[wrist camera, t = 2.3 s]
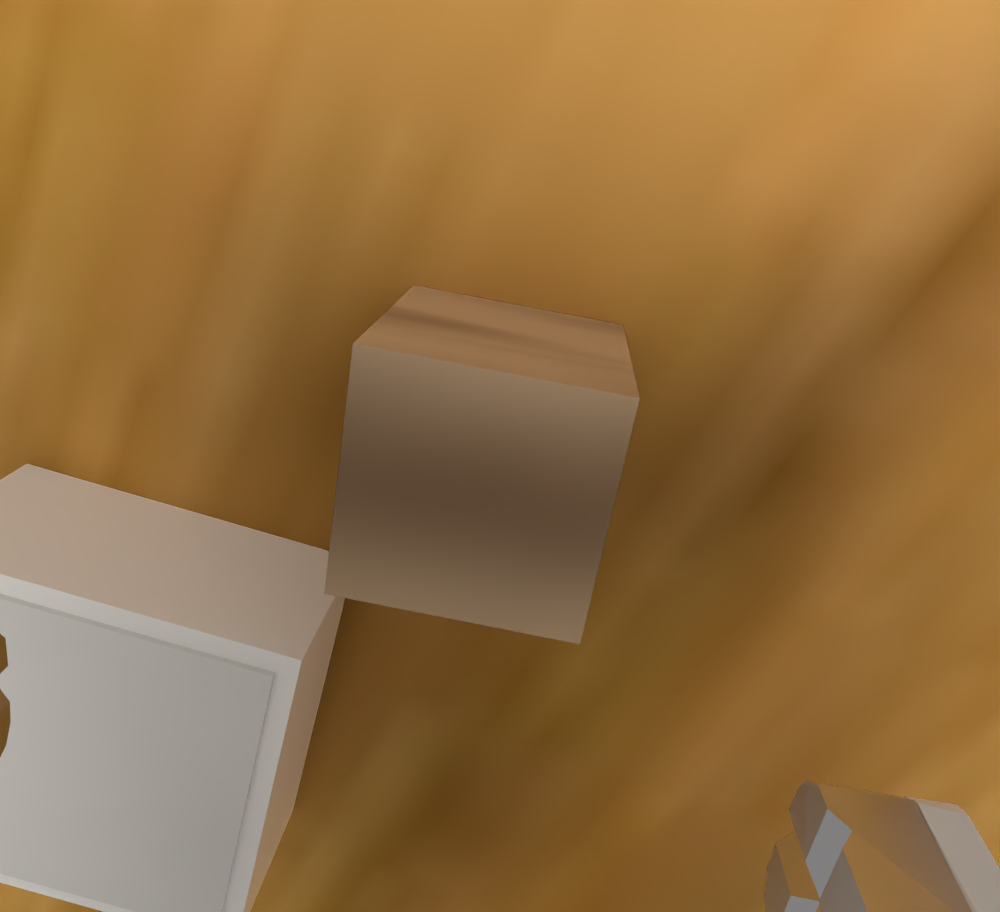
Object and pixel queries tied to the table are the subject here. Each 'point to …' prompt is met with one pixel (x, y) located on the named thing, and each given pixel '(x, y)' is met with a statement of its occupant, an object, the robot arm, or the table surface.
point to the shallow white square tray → (151, 695)
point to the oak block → (481, 462)
